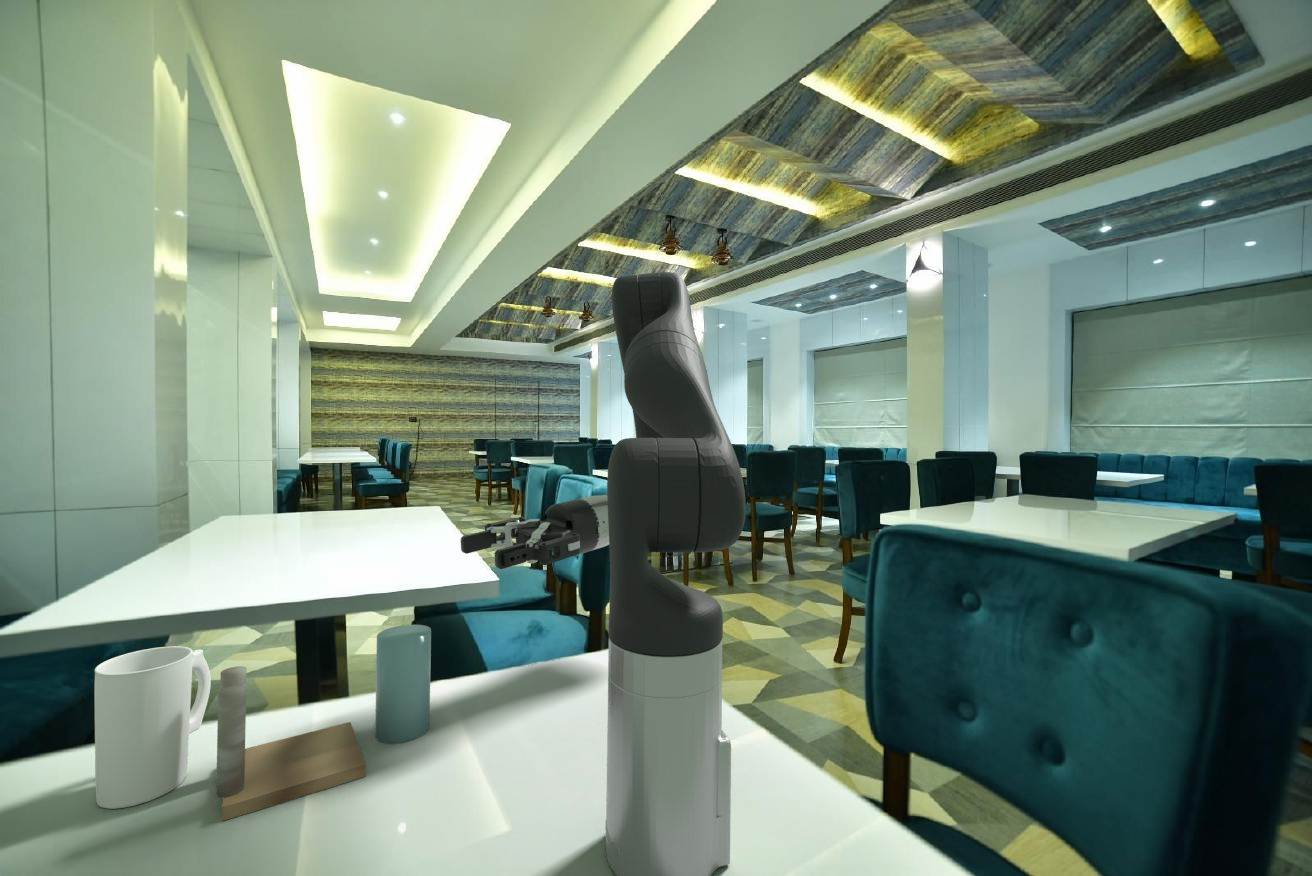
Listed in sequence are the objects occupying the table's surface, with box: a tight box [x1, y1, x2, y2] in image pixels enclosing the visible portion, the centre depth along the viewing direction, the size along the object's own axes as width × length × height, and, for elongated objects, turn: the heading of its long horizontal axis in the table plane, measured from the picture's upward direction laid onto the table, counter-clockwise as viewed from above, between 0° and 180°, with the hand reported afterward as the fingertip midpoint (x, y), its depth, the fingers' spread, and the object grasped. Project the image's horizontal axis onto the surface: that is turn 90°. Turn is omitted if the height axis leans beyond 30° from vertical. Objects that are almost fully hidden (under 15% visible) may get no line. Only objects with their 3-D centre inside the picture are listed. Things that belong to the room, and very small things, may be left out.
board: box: [215, 665, 367, 822], centre depth 55 cm, size 12×10×10 cm
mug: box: [94, 645, 212, 810], centre depth 54 cm, size 10×7×12 cm, turn 174°
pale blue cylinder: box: [374, 624, 432, 745], centre depth 63 cm, size 6×6×11 cm
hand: (478, 552), depth 67 cm, fingers open, 8 cm apart
